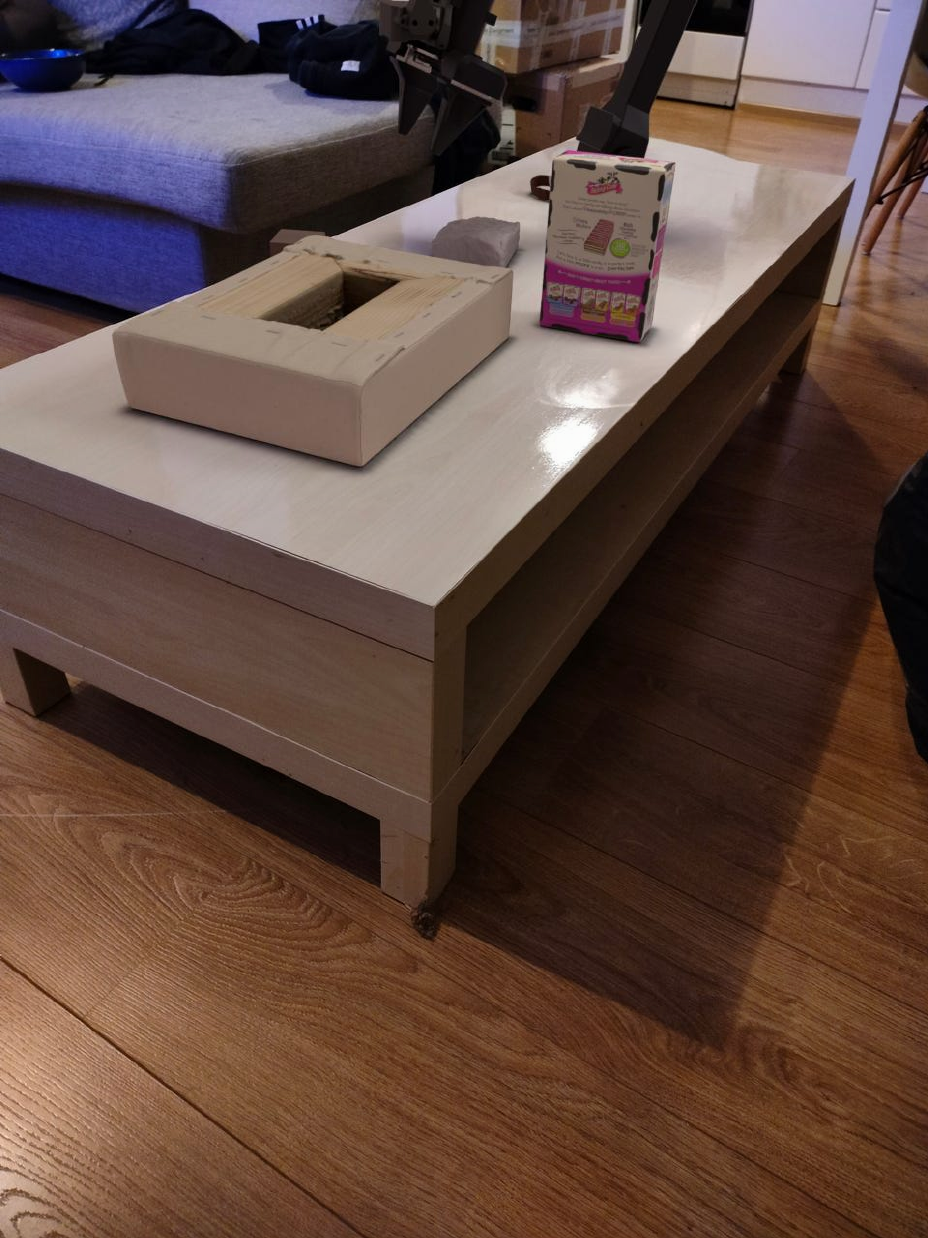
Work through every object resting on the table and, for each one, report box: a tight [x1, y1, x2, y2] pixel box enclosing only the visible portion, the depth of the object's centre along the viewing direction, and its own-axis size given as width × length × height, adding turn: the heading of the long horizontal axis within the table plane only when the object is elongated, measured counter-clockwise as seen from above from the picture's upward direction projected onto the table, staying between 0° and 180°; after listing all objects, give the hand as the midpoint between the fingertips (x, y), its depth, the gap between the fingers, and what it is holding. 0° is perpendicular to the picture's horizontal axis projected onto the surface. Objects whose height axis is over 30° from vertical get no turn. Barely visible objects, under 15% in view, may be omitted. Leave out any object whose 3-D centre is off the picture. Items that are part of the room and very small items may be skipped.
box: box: [111, 235, 514, 467], centre depth 88 cm, size 23×8×32 cm
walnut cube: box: [268, 228, 326, 258], centre depth 108 cm, size 5×5×5 cm
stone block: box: [430, 216, 521, 268], centre depth 118 cm, size 12×5×10 cm
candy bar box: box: [539, 149, 677, 343], centre depth 97 cm, size 11×5×16 cm, turn 68°
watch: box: [529, 174, 551, 202], centre depth 142 cm, size 8×5×4 cm, turn 48°
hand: (417, 143), depth 109 cm, fingers open, 9 cm apart
